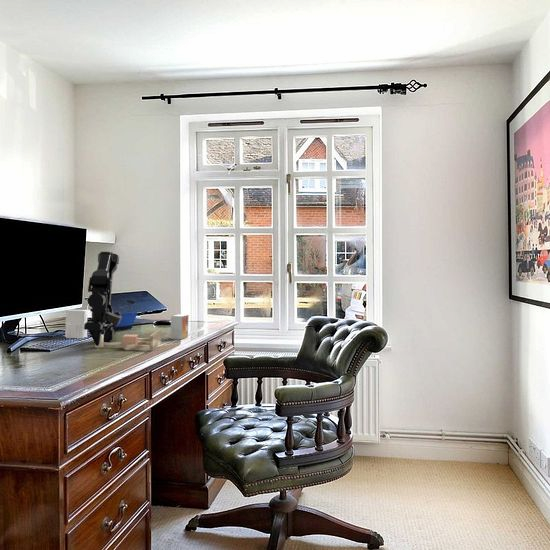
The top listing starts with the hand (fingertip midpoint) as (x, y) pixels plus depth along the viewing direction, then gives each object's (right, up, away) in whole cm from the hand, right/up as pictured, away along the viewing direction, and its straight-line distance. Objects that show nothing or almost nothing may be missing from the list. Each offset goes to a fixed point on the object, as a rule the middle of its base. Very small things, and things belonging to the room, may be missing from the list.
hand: (98, 344), depth 203 cm
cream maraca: (+7, -1, +1) cm, 7 cm away
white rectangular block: (-18, 0, +23) cm, 30 cm away
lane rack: (+17, -1, +5) cm, 18 cm away
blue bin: (-8, 0, +50) cm, 51 cm away
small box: (+27, -1, +30) cm, 40 cm away
